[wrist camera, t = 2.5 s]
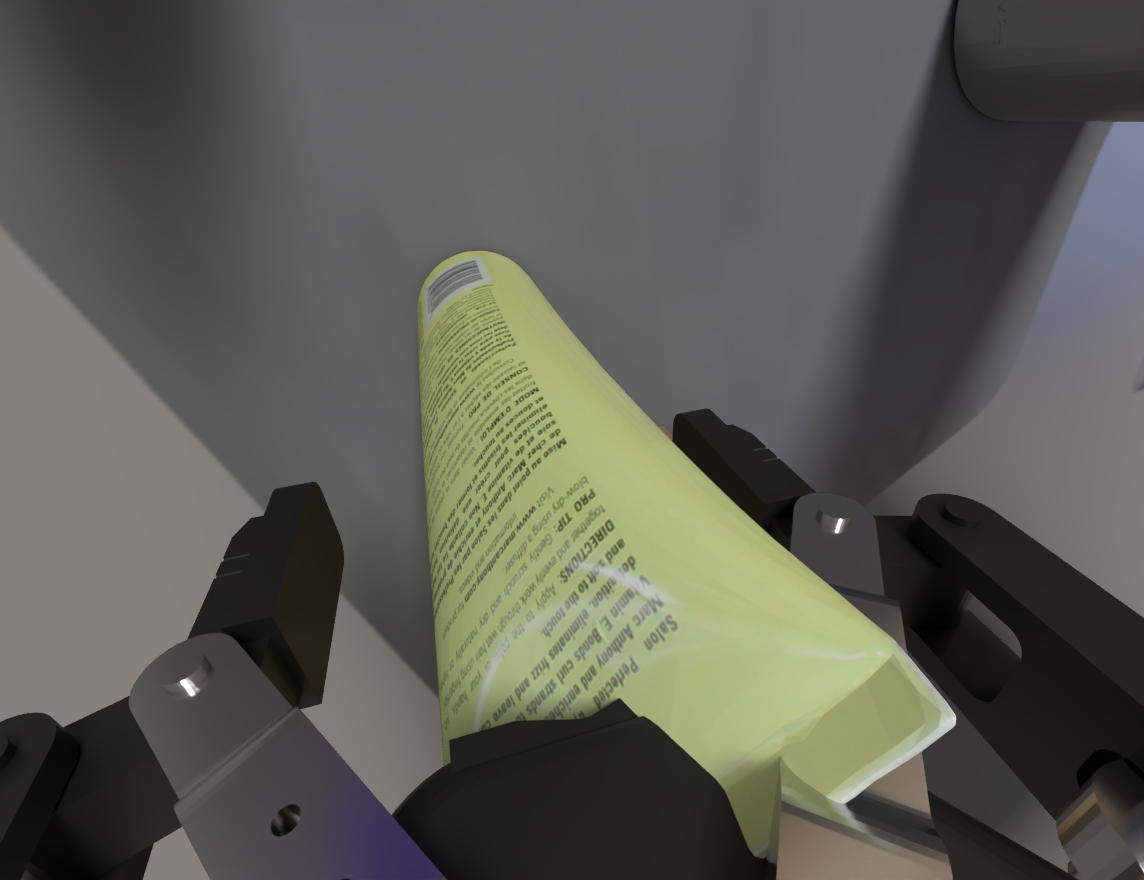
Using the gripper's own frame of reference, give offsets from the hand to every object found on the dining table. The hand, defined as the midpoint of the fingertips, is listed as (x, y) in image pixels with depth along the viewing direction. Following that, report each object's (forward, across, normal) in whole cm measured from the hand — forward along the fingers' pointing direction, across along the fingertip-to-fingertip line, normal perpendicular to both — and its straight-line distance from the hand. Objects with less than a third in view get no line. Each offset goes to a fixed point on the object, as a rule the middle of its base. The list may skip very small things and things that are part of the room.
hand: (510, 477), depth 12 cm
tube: (+12, 0, 0) cm, 12 cm away
